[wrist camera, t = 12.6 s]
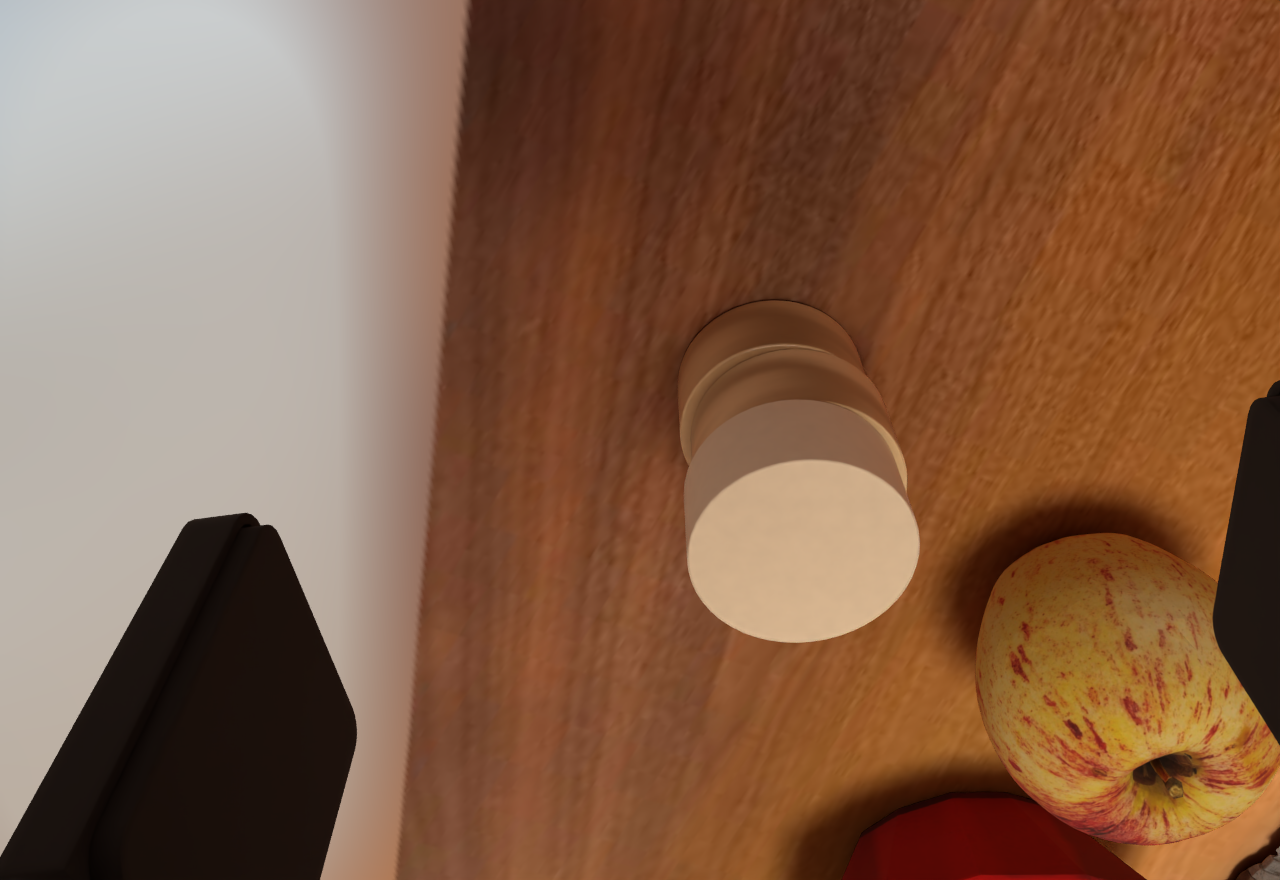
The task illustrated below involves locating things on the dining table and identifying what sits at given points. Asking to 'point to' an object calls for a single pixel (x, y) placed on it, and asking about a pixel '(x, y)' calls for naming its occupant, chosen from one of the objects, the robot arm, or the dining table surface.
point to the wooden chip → (798, 522)
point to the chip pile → (773, 371)
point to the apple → (1118, 692)
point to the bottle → (980, 843)
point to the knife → (1263, 869)
